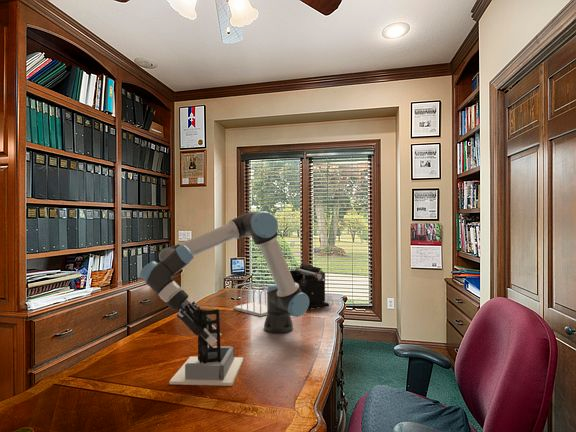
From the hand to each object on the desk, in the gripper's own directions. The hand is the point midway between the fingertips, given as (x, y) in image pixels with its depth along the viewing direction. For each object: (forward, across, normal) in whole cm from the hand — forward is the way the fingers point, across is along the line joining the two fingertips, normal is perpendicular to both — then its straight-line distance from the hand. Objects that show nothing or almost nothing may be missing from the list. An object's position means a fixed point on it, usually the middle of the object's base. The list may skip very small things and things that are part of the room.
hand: (216, 340), depth 119 cm
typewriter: (+29, -99, +12) cm, 103 cm away
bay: (+6, 0, -10) cm, 12 cm away
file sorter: (+10, -82, -7) cm, 83 cm away
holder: (+3, 0, -8) cm, 9 cm away
